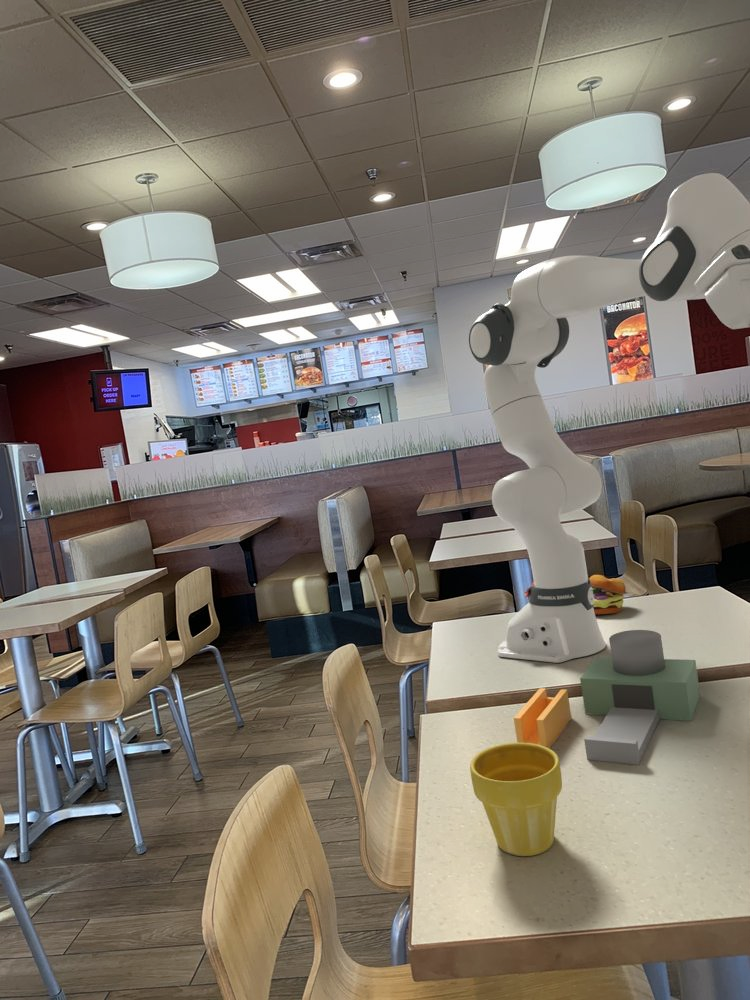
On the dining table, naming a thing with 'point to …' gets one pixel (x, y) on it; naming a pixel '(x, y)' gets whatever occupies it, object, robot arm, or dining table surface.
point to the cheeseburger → (607, 594)
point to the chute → (543, 718)
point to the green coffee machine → (635, 695)
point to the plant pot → (519, 794)
